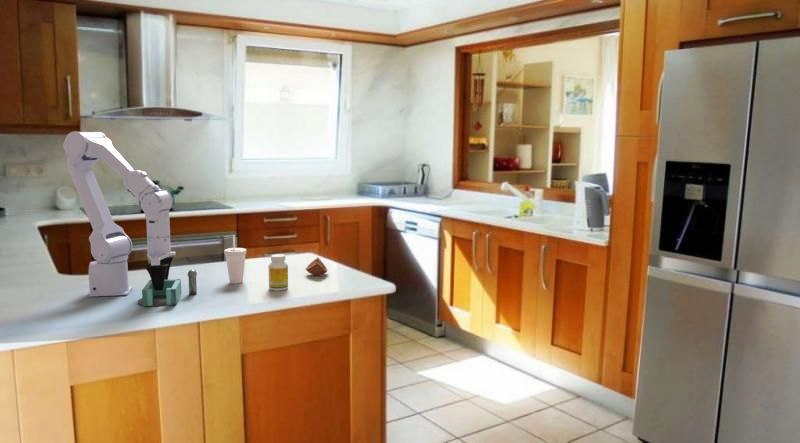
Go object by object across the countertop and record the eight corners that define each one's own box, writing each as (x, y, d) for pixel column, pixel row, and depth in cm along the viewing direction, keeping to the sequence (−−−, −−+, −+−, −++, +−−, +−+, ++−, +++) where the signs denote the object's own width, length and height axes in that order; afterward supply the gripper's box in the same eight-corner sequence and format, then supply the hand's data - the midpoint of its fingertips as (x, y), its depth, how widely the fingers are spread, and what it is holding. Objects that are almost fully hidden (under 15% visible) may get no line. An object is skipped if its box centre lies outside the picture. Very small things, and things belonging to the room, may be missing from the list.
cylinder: (187, 295, 171) (186, 271, 170) (188, 293, 173) (187, 269, 172) (197, 294, 171) (196, 270, 170) (197, 292, 174) (197, 268, 173)
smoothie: (238, 278, 191) (237, 232, 189) (251, 281, 187) (250, 235, 185) (220, 282, 186) (219, 235, 184) (233, 285, 182) (232, 237, 180)
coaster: (134, 307, 159) (134, 305, 159) (141, 297, 168) (141, 295, 168) (176, 305, 161) (176, 303, 161) (180, 295, 171) (180, 293, 171)
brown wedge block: (327, 278, 192) (327, 262, 192) (305, 278, 192) (304, 262, 191) (327, 272, 200) (327, 256, 200) (306, 272, 200) (306, 256, 199)
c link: (142, 305, 159) (142, 290, 158) (150, 294, 169) (149, 280, 169) (176, 304, 160) (175, 289, 160) (181, 293, 171) (180, 279, 170)
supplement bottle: (266, 287, 180) (265, 254, 179) (284, 285, 183) (284, 252, 181) (272, 291, 175) (271, 258, 174) (290, 289, 178) (290, 256, 177)
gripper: (170, 240, 161) (172, 292, 163) (178, 231, 175) (180, 279, 177) (141, 241, 159) (143, 293, 161) (151, 232, 173) (153, 280, 175)
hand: (160, 286), depth 169 cm, fingers open, 7 cm apart
